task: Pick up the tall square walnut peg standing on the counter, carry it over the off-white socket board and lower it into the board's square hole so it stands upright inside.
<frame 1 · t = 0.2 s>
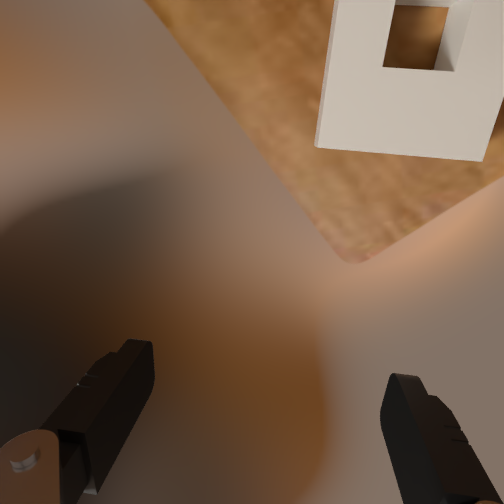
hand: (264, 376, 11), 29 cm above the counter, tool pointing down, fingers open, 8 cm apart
socket board: (407, 43, 31), on the counter
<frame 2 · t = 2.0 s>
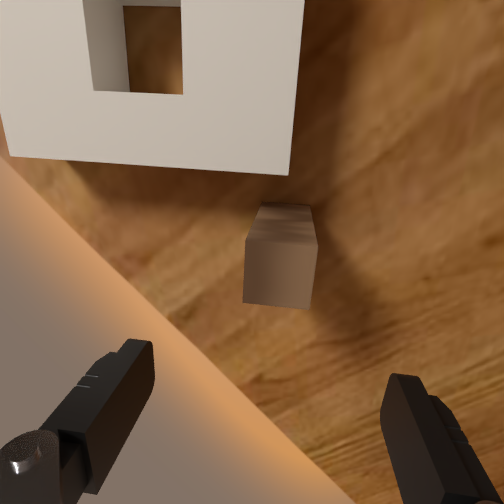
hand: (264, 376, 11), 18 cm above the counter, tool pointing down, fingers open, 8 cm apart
peg: (283, 226, 27), on the counter
socket board: (164, 54, 24), on the counter
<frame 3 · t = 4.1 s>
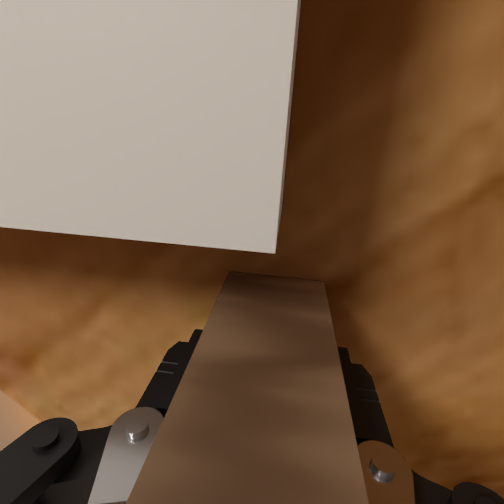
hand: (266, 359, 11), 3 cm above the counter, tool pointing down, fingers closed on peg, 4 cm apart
peg: (272, 316, 14), on the counter, touching gripper
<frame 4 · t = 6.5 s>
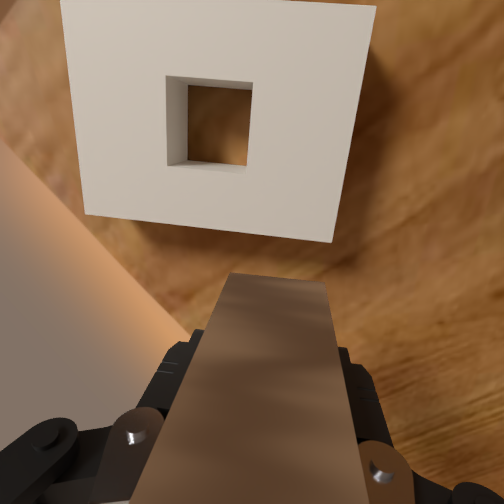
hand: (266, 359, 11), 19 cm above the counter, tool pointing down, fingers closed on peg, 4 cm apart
peg: (272, 317, 14), point 16 cm above the counter, touching gripper
socket board: (221, 127, 27), on the counter
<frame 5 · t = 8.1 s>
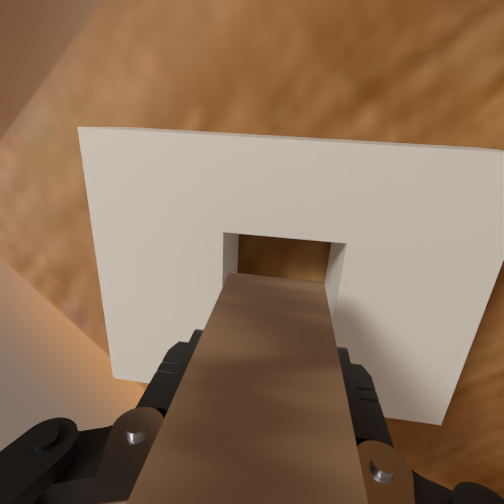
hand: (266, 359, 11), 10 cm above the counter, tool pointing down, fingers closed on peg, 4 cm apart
peg: (272, 317, 14), point 8 cm above the counter, touching gripper
socket board: (282, 256, 21), on the counter
when the fingers open (6 cm above the counter, at t = 9.3 s): peg drops 3 cm, resting in socket board.
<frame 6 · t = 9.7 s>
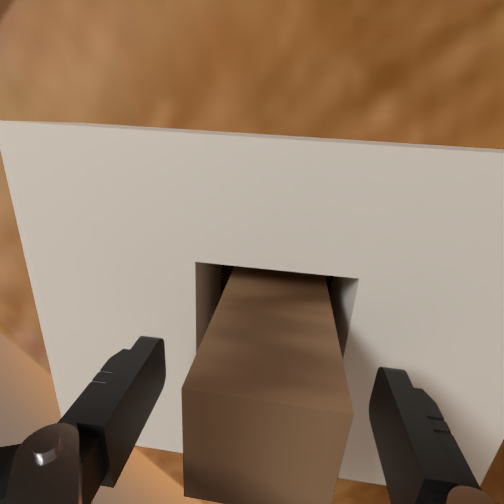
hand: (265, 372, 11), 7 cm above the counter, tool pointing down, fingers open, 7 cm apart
peg: (277, 282, 17), resting in socket board
socket board: (275, 281, 17), on the counter
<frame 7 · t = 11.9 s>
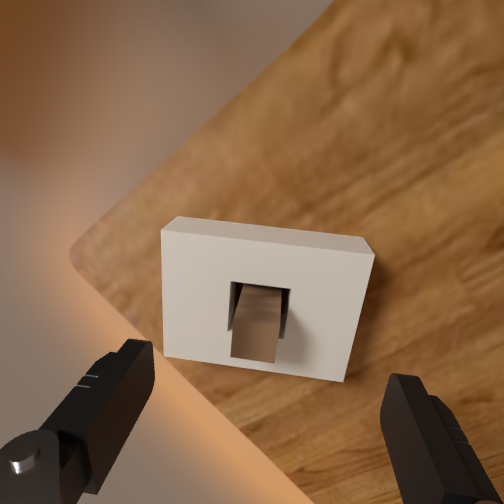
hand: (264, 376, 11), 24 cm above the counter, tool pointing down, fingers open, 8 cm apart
peg: (262, 288, 37), resting in socket board
socket board: (261, 287, 37), on the counter
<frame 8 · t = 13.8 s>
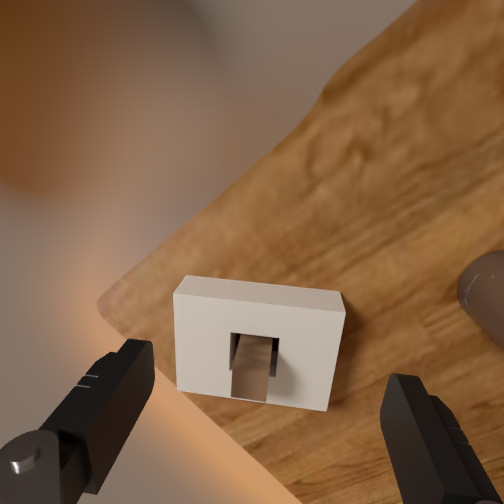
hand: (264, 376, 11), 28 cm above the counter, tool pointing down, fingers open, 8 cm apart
peg: (258, 331, 44), resting in socket board
socket board: (257, 331, 44), on the counter
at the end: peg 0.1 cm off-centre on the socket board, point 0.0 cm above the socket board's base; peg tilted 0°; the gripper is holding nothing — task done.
